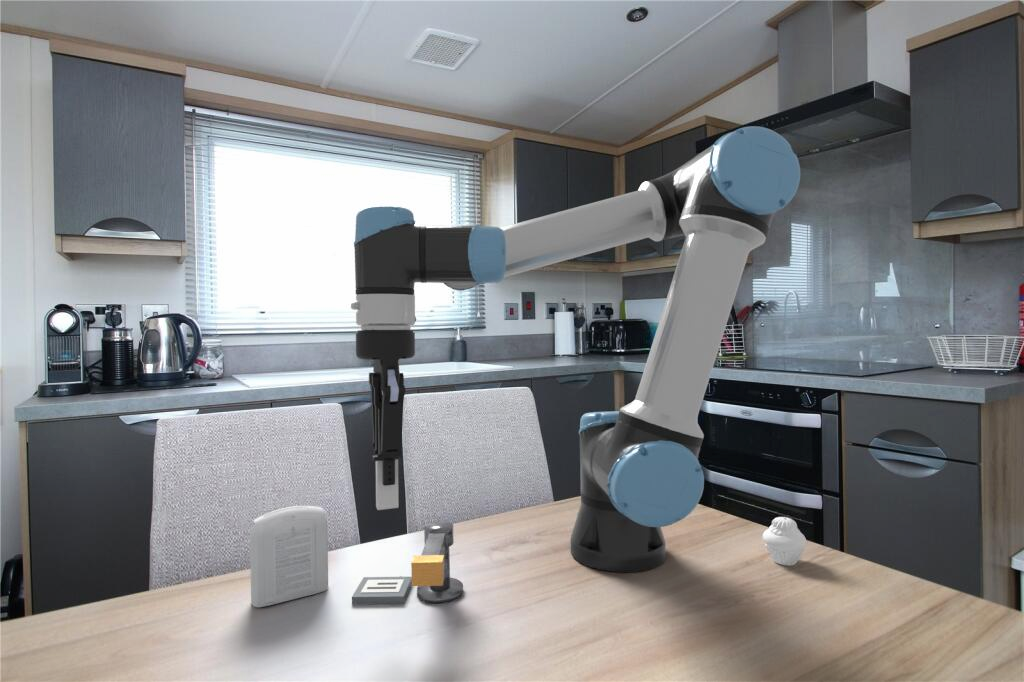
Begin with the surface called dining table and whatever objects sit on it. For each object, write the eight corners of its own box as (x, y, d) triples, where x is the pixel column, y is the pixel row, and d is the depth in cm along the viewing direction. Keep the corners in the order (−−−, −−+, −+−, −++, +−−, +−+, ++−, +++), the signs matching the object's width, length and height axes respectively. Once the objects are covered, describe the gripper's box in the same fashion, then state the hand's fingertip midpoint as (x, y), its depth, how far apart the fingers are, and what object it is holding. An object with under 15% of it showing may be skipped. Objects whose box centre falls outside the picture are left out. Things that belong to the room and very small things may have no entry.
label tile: (412, 583, 83) (411, 575, 83) (403, 603, 77) (403, 595, 77) (363, 583, 83) (363, 576, 83) (351, 604, 77) (351, 595, 77)
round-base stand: (465, 582, 83) (464, 537, 83) (460, 603, 77) (459, 555, 77) (421, 582, 83) (420, 537, 83) (413, 604, 77) (412, 555, 77)
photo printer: (324, 580, 85) (322, 497, 84) (332, 591, 81) (330, 505, 81) (248, 599, 79) (245, 511, 79) (254, 612, 75) (251, 519, 75)
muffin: (793, 552, 92) (793, 509, 91) (815, 569, 85) (815, 523, 85) (755, 554, 91) (755, 510, 91) (774, 570, 85) (774, 524, 85)
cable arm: (426, 539, 82) (426, 520, 82) (454, 538, 82) (454, 519, 82) (410, 586, 67) (409, 562, 67) (444, 585, 67) (443, 562, 67)
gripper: (350, 328, 79) (352, 496, 80) (362, 328, 67) (364, 527, 68) (404, 327, 82) (405, 490, 83) (425, 328, 70) (426, 519, 71)
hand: (387, 507), depth 75 cm, fingers closed
